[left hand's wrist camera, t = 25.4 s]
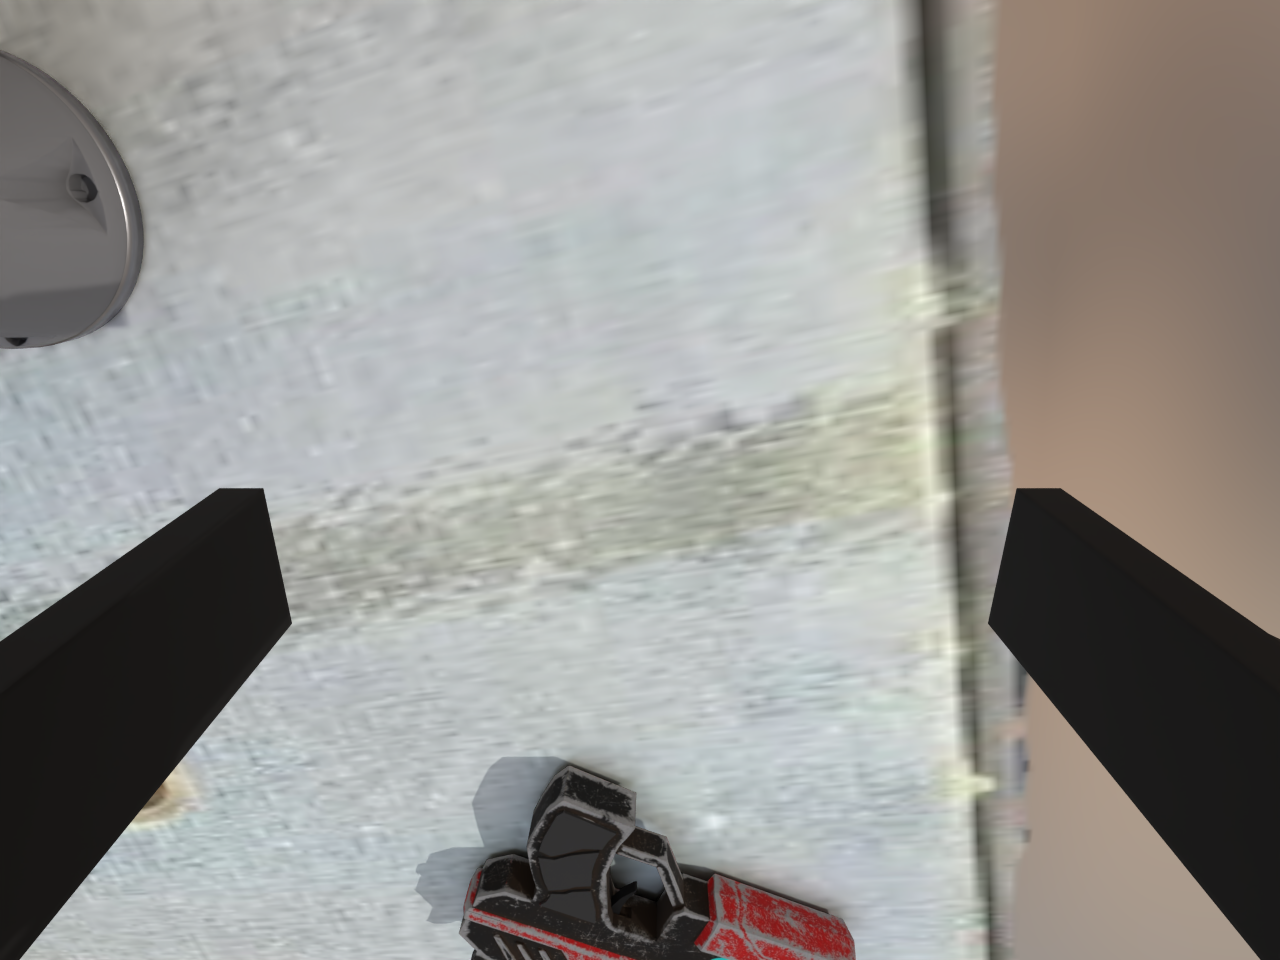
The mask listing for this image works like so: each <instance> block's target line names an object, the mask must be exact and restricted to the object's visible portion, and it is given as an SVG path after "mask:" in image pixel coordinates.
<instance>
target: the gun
mask: <svg viewBox="0 0 1280 960" xmlns="http://www.w3.org/2000/svg"><path fill="white" fill-rule="evenodd" d="M635 811H636V792H633V791H631V790H628V789H626V788H623V787H621V786H618V785H616V784H613V783H611V782H608V781H606V780H603V779H601V778H598V777H596V776H593V775H591V774H589V773H586V772H584V771H581V770H579V769H576V768H574V767H572V766H567V767H566V768H564V769H563V770H562V771H560V772H559V773H558V774H556V775H555V776H554V778H553V779H552V780H551V782H550V783H549V785H548V786H547V788H546V790H545V791H544V793H543V794H542V796H541V798H540V800H539V802H538V804H537V806H536V807H535V809H534V813H533V818H532V822H531V827H530V832H529V837H528V842H527V852H528V857H529V859H527V858H524V857H521V856H518V855H515V854H510V855H506V856H501V857H497V858H492V859H488V860H487V861H486V863H485V864H484V866H483V868H478V869H477V870H476V872H475V874H474V875H473V877H472V879H471V881H470V884H469V888H468V891H467V895H466V899H465V903H464V907H463V910H464V916H463V920H462V923H461V927H460V931H459V934H460V935H461V936H462V937H463V938H464V939H465V940H466V941H467V942H468V943H469V944H470V945H471V946H472V947H473V948H474V949H475V950H474V951H473V954H472V958H471V960H856V956H855V945H854V940H853V938H852V936H851V934H850V932H849V930H848V928H847V926H846V924H845V923H844V921H843V919H840V918H838V917H835V916H832V915H829V914H826V913H824V912H821V911H818V910H815V909H813V908H810V907H807V906H804V905H801V904H799V903H796V902H793V901H790V900H787V899H785V898H782V897H779V896H776V895H773V894H771V893H768V892H765V891H762V890H759V889H757V888H754V887H751V886H748V885H745V884H743V883H740V882H737V881H734V880H731V879H729V878H726V877H723V876H721V875H718V874H715V873H714V875H713V876H712V877H711V878H710V879H709V880H708V881H704V880H701V879H698V878H695V877H693V876H690V875H687V874H684V873H683V874H681V872H680V870H679V867H678V865H677V862H676V860H675V857H674V854H673V852H672V849H671V847H670V844H669V842H668V839H667V837H666V836H663V835H660V834H657V833H654V832H651V831H648V830H645V829H642V828H639V827H637V826H635ZM615 853H616V854H619V855H622V856H625V857H628V858H631V859H634V860H637V861H640V862H643V863H646V864H649V865H652V866H655V867H657V870H658V872H659V875H660V877H661V879H662V882H663V884H664V887H665V890H664V892H663V893H662V895H661V896H660V898H659V899H658V901H657V902H655V901H652V900H649V899H646V898H643V897H640V896H637V895H634V893H636V890H637V882H636V881H635V882H633V883H631V884H629V885H627V886H625V887H623V888H622V889H620V890H619V889H616V888H615V887H614V884H613V882H612V879H611V876H610V865H611V862H612V860H613V858H614V855H615Z"/></svg>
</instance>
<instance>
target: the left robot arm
mask: <svg viewBox="0 0 1280 960" xmlns="http://www.w3.org/2000/svg"><path fill="white" fill-rule="evenodd" d="M143 245H144V244H143V224H142V216H141V211H140V206H139V201H138V198H137V195H136V191H135V188H134V185H133V183H132V180H131V177H130V175H129V172H128V170H127V168H126V166H125V164H124V162H123V160H122V158H121V156H120V154H119V152H118V151H117V149H116V147H115V146H114V144H113V142H112V141H111V139H110V138H109V136H108V135H107V133H106V132H105V131H104V129H103V128H102V126H101V125H100V124H99V123H98V121H97V120H96V119H95V118H94V116H93V115H92V114H91V113H90V112H89V111H88V110H87V109H86V108H85V107H84V105H83V104H82V103H81V102H80V101H79V100H78V99H77V98H76V97H74V96H73V95H72V94H71V93H70V92H69V91H68V90H67V89H66V88H64V87H63V86H62V85H61V84H59V83H58V82H57V81H56V80H54V79H53V78H52V77H50V76H49V75H47V74H46V73H44V72H43V71H41V70H40V69H38V68H37V67H35V66H33V65H31V64H29V63H28V62H26V61H24V60H22V59H20V58H18V57H16V56H14V55H11V54H9V53H7V52H4V51H1V50H0V348H5V349H19V348H34V347H43V346H49V345H54V344H58V343H62V342H66V341H70V340H73V339H77V338H80V337H82V336H85V335H87V334H90V333H92V332H93V331H95V330H97V329H99V328H100V327H102V326H103V325H104V324H106V323H107V322H108V321H110V320H111V319H112V318H113V317H114V316H115V315H116V314H117V313H118V312H119V311H120V309H121V308H122V307H123V306H124V304H125V303H126V301H127V300H128V298H129V296H130V295H131V293H132V291H133V289H134V286H135V284H136V282H137V278H138V275H139V272H140V268H141V263H142V257H143ZM291 624H292V621H291V616H290V612H289V607H288V602H287V598H286V593H285V588H284V584H283V579H282V574H281V569H280V565H279V560H278V555H277V551H276V546H275V541H274V536H273V532H272V527H271V522H270V518H269V513H268V508H267V504H266V499H265V494H264V489H263V488H219V489H218V490H216V491H215V492H213V493H212V494H211V495H209V496H208V497H206V498H205V499H203V500H202V501H201V502H199V503H198V504H196V505H195V506H193V507H192V508H191V509H189V510H188V511H186V512H185V513H183V514H182V515H181V516H179V517H178V518H176V519H175V520H173V521H172V522H171V523H169V524H168V525H166V526H165V527H163V528H162V529H161V530H159V531H158V532H156V533H155V534H153V535H152V536H151V537H149V538H148V539H146V540H145V541H143V542H142V543H141V544H139V545H138V546H136V547H135V548H133V549H132V550H131V551H129V552H128V553H126V554H125V555H123V556H122V557H120V558H119V559H118V560H116V561H115V562H113V563H112V564H110V565H109V566H108V567H106V568H105V569H103V570H102V571H100V572H99V573H98V574H96V575H95V576H93V577H92V578H90V579H89V580H88V581H86V582H85V583H83V584H82V585H80V586H79V587H78V588H76V589H75V590H73V591H72V592H70V593H69V594H68V595H66V596H65V597H63V598H62V599H60V600H59V601H58V602H56V603H55V604H53V605H52V606H50V607H49V608H48V609H46V610H45V611H43V612H42V613H40V614H39V615H38V616H36V617H35V618H33V619H32V620H30V621H29V622H28V623H26V624H25V625H23V626H22V627H20V628H19V629H18V630H16V631H15V632H13V633H12V634H10V635H9V636H8V637H6V638H5V639H3V640H2V641H0V960H20V958H21V957H22V956H23V955H24V953H25V952H26V951H27V950H28V949H29V947H30V946H31V945H32V944H33V942H34V941H35V940H36V939H37V937H38V936H39V935H40V934H41V932H42V931H43V930H44V929H45V928H46V926H47V925H48V924H49V923H50V921H51V920H52V919H53V918H54V916H55V915H56V914H57V913H58V912H59V910H60V909H61V908H62V907H63V905H64V904H65V903H66V902H67V900H68V899H69V898H70V897H71V895H72V894H73V893H74V892H75V891H76V889H77V888H78V887H79V886H80V884H81V883H82V882H83V881H84V879H85V878H86V877H87V876H88V875H89V873H90V872H91V871H92V870H93V868H94V867H95V866H96V865H97V863H98V862H99V861H100V860H101V858H102V857H103V856H104V855H105V854H106V852H107V851H108V850H109V849H110V847H111V846H112V845H113V844H114V842H115V841H116V840H117V839H118V837H119V836H120V835H121V834H122V833H123V831H124V830H125V829H126V828H127V826H128V825H129V824H130V823H131V821H132V820H133V819H134V818H135V817H136V815H137V814H138V813H139V812H140V810H141V809H142V808H143V807H144V805H145V804H146V803H147V802H148V800H149V799H150V798H151V797H152V796H153V794H154V793H155V792H156V791H157V789H158V788H159V787H160V786H161V784H162V783H163V782H164V781H165V780H166V778H167V777H168V776H169V775H170V773H171V772H172V771H173V770H174V768H175V767H176V766H177V765H178V763H179V762H180V761H181V760H182V759H183V757H184V756H185V755H186V754H187V752H188V751H189V750H190V749H191V747H192V746H193V745H194V744H195V742H196V741H197V740H198V739H199V738H200V736H201V735H202V734H203V733H204V731H205V730H206V729H207V728H208V726H209V725H210V724H211V723H212V722H213V720H214V719H215V718H216V717H217V715H218V714H219V713H220V712H221V710H222V709H223V708H224V707H225V705H226V704H227V703H228V702H229V701H230V699H231V698H232V697H233V696H234V694H235V693H236V692H237V691H238V689H239V688H240V687H241V686H242V685H243V683H244V682H245V681H246V680H247V678H248V677H249V676H250V675H251V673H252V672H253V671H254V670H255V668H256V667H257V666H258V665H259V664H260V662H261V661H262V660H263V659H264V657H265V656H266V655H267V654H268V652H269V651H270V650H271V649H272V647H273V646H274V645H275V644H276V643H277V641H278V640H279V639H280V638H281V636H282V635H283V634H284V633H285V631H286V630H287V629H288V628H289V627H290V625H291ZM988 624H989V625H990V627H991V628H992V629H993V630H994V631H995V633H996V634H997V635H998V636H999V638H1000V639H1001V640H1002V641H1003V643H1004V644H1005V645H1006V646H1007V648H1008V649H1009V650H1010V651H1011V652H1012V654H1013V655H1014V656H1015V657H1016V659H1017V660H1018V661H1019V662H1020V664H1021V665H1022V666H1023V667H1024V668H1025V670H1026V671H1027V672H1028V673H1029V675H1030V676H1031V677H1032V678H1033V680H1034V681H1035V682H1036V683H1037V685H1038V686H1039V687H1040V688H1041V689H1042V691H1043V692H1044V693H1045V694H1046V696H1047V697H1048V698H1049V699H1050V701H1051V702H1052V703H1053V704H1054V705H1055V707H1056V708H1057V709H1058V710H1059V712H1060V713H1061V714H1062V715H1063V717H1064V718H1065V719H1066V720H1067V722H1068V723H1069V724H1070V725H1071V726H1072V728H1073V729H1074V730H1075V731H1076V733H1077V734H1078V735H1079V736H1080V738H1081V739H1082V740H1083V741H1084V742H1085V744H1086V745H1087V746H1088V747H1089V749H1090V750H1091V751H1092V752H1093V754H1094V755H1095V756H1096V757H1097V759H1098V760H1099V761H1100V762H1101V763H1102V765H1103V766H1104V767H1105V768H1106V770H1107V771H1108V772H1109V773H1110V775H1111V776H1112V777H1113V778H1114V780H1115V781H1116V782H1117V783H1118V784H1119V786H1120V787H1121V788H1122V789H1123V791H1124V792H1125V793H1126V794H1127V795H1128V797H1129V798H1130V799H1131V800H1132V802H1133V803H1134V804H1135V805H1136V807H1137V808H1138V809H1139V810H1140V812H1141V813H1142V814H1143V815H1144V817H1145V818H1146V819H1147V820H1148V821H1149V823H1150V824H1151V825H1152V826H1153V828H1154V829H1155V830H1156V831H1157V833H1158V834H1159V835H1160V836H1161V837H1162V839H1163V840H1164V841H1165V842H1166V844H1167V845H1168V846H1169V847H1170V849H1171V850H1172V851H1173V852H1174V854H1175V855H1176V856H1177V857H1178V858H1179V860H1180V861H1181V862H1182V863H1183V865H1184V866H1185V867H1186V868H1187V870H1188V871H1189V872H1190V873H1191V875H1192V876H1193V877H1194V878H1195V879H1196V881H1197V882H1198V883H1199V884H1200V886H1201V887H1202V888H1203V889H1204V890H1205V892H1206V893H1207V894H1208V895H1209V897H1210V898H1211V899H1212V900H1213V902H1214V903H1215V904H1216V905H1217V907H1218V908H1219V909H1220V910H1221V912H1222V913H1223V914H1224V915H1225V916H1226V918H1227V919H1228V920H1229V921H1230V923H1231V924H1232V925H1233V926H1234V928H1235V929H1236V930H1237V931H1238V932H1239V934H1240V935H1241V936H1242V937H1243V939H1244V940H1245V941H1246V942H1247V943H1248V945H1249V946H1250V947H1251V948H1252V950H1253V951H1254V952H1255V953H1256V955H1257V956H1258V957H1259V958H1260V960H1280V639H1278V638H1276V637H1274V636H1272V635H1270V634H1268V633H1267V632H1265V631H1264V630H1262V629H1261V628H1259V627H1258V626H1257V625H1255V624H1254V623H1252V622H1251V621H1250V620H1248V619H1247V618H1245V617H1244V616H1242V615H1241V614H1240V613H1238V612H1237V611H1235V610H1234V609H1232V608H1231V607H1230V606H1228V605H1227V604H1225V603H1224V602H1222V601H1221V600H1219V599H1218V598H1217V597H1215V596H1214V595H1212V594H1211V593H1210V592H1208V591H1207V590H1205V589H1204V588H1202V587H1201V586H1200V585H1198V584H1197V583H1195V582H1194V581H1192V580H1191V579H1189V578H1188V577H1187V576H1185V575H1184V574H1182V573H1181V572H1179V571H1178V570H1177V569H1175V568H1174V567H1172V566H1171V565H1170V564H1168V563H1167V562H1165V561H1164V560H1162V559H1161V558H1160V557H1158V556H1157V555H1155V554H1154V553H1152V552H1151V551H1149V550H1148V549H1147V548H1145V547H1144V546H1142V545H1141V544H1139V543H1138V542H1137V541H1135V540H1134V539H1132V538H1131V537H1129V536H1128V535H1127V534H1125V533H1124V532H1122V531H1121V530H1119V529H1118V528H1117V527H1115V526H1114V525H1112V524H1111V523H1109V522H1108V521H1107V520H1105V519H1104V518H1102V517H1101V516H1099V515H1098V514H1097V513H1095V512H1094V511H1092V510H1091V509H1089V508H1088V507H1087V506H1085V505H1084V504H1082V503H1081V502H1079V501H1078V500H1077V499H1075V498H1074V497H1072V496H1071V495H1069V494H1068V493H1067V492H1065V491H1064V490H1062V489H1061V488H1017V489H1016V494H1015V499H1014V504H1013V508H1012V513H1011V518H1010V522H1009V527H1008V532H1007V536H1006V541H1005V546H1004V551H1003V555H1002V560H1001V565H1000V569H999V574H998V579H997V584H996V588H995V593H994V598H993V602H992V607H991V612H990V616H989V621H988Z"/></svg>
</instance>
